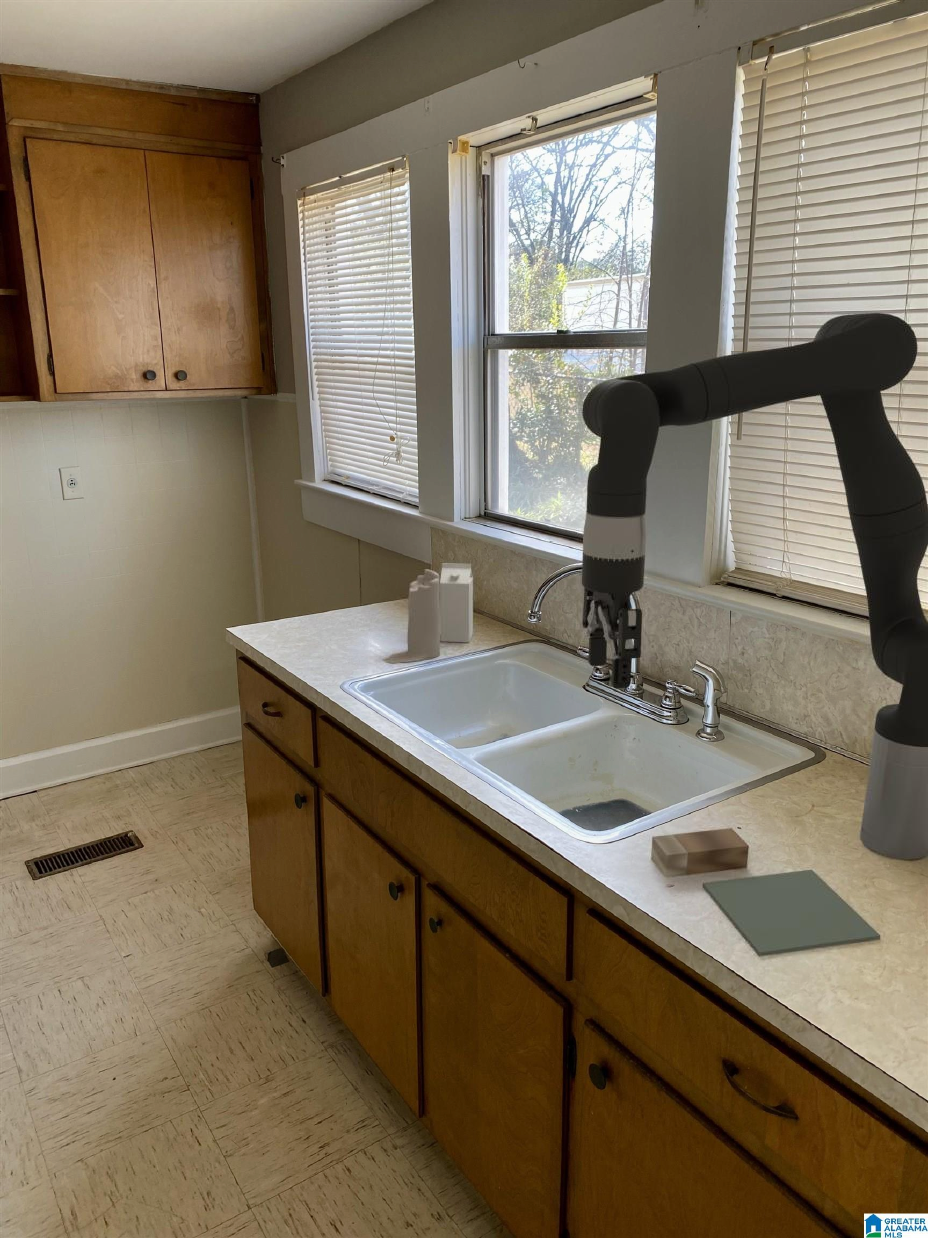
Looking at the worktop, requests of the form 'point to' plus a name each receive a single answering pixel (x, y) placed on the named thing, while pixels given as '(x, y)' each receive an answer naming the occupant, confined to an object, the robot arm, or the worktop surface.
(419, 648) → the candle
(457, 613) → the milk carton
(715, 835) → the stepped wooden block
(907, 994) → the worktop surface
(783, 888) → the sage mat
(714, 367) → the robot arm
